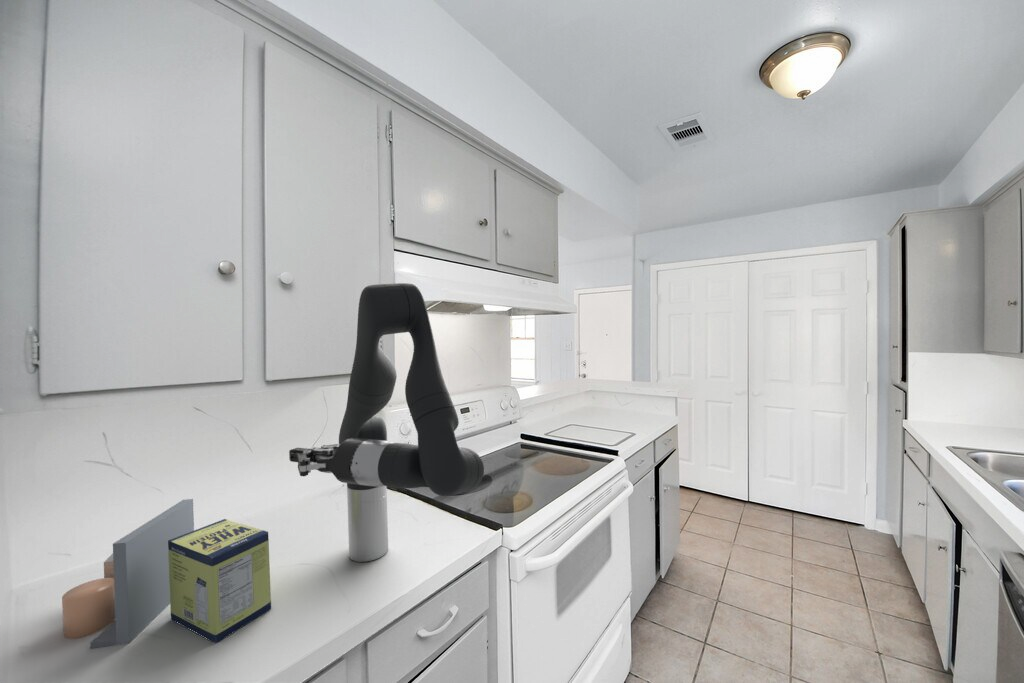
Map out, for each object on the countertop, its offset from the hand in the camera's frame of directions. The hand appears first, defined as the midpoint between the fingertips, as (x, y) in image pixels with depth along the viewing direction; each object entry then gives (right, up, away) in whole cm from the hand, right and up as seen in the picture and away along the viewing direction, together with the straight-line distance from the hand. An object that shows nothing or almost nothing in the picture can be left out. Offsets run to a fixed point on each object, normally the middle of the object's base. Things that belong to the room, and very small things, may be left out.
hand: (292, 454), depth 76 cm
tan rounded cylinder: (-39, -33, +2) cm, 52 cm away
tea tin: (-41, -33, +11) cm, 54 cm away
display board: (-32, -33, +6) cm, 46 cm away
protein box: (-16, -33, +4) cm, 37 cm away
